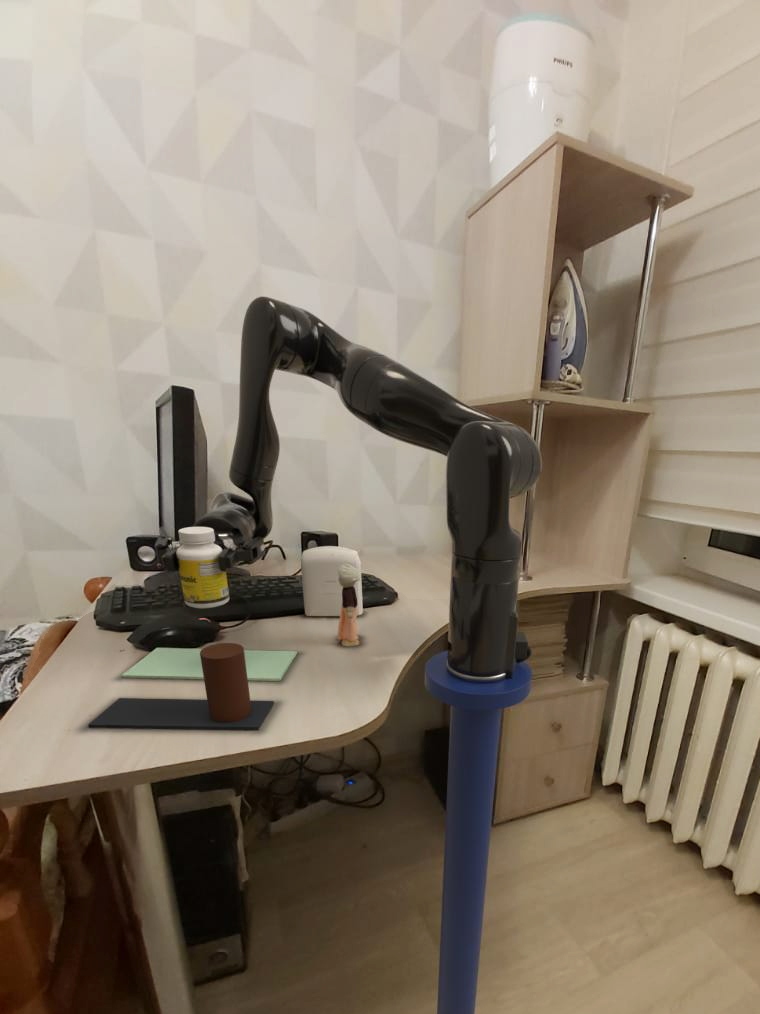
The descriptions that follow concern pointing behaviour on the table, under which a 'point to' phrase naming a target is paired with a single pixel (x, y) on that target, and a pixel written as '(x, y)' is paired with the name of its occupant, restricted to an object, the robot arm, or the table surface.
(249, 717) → the dark mat
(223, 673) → the brown cylinder
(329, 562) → the photo printer
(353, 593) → the grandmother figurine
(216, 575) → the supplement bottle
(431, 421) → the robot arm
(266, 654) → the pale mat
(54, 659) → the table surface
